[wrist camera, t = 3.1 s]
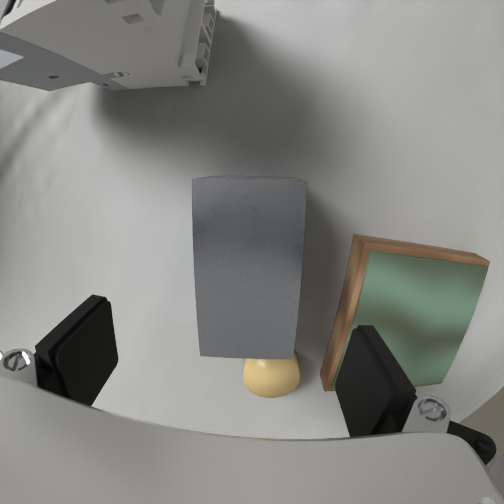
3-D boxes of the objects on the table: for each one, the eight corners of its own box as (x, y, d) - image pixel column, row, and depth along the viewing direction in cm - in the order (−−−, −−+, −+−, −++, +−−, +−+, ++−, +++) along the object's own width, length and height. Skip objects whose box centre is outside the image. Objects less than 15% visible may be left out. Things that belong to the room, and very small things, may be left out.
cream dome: (247, 338, 25) (245, 354, 23) (302, 342, 25) (305, 358, 23) (242, 378, 27) (240, 395, 24) (292, 382, 27) (294, 399, 24)
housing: (213, 175, 21) (192, 179, 15) (292, 177, 21) (307, 181, 14) (215, 307, 24) (200, 355, 18) (285, 309, 24) (293, 359, 18)
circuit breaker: (75, 32, 17) (-27, -18, 3) (217, 10, 17) (173, -116, 3) (60, 100, 19) (-66, 80, 5) (206, 85, 19) (123, -23, 5)
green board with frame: (353, 234, 22) (366, 244, 19) (474, 253, 22) (492, 262, 19) (319, 373, 26) (324, 393, 23) (431, 369, 26) (442, 385, 23)
